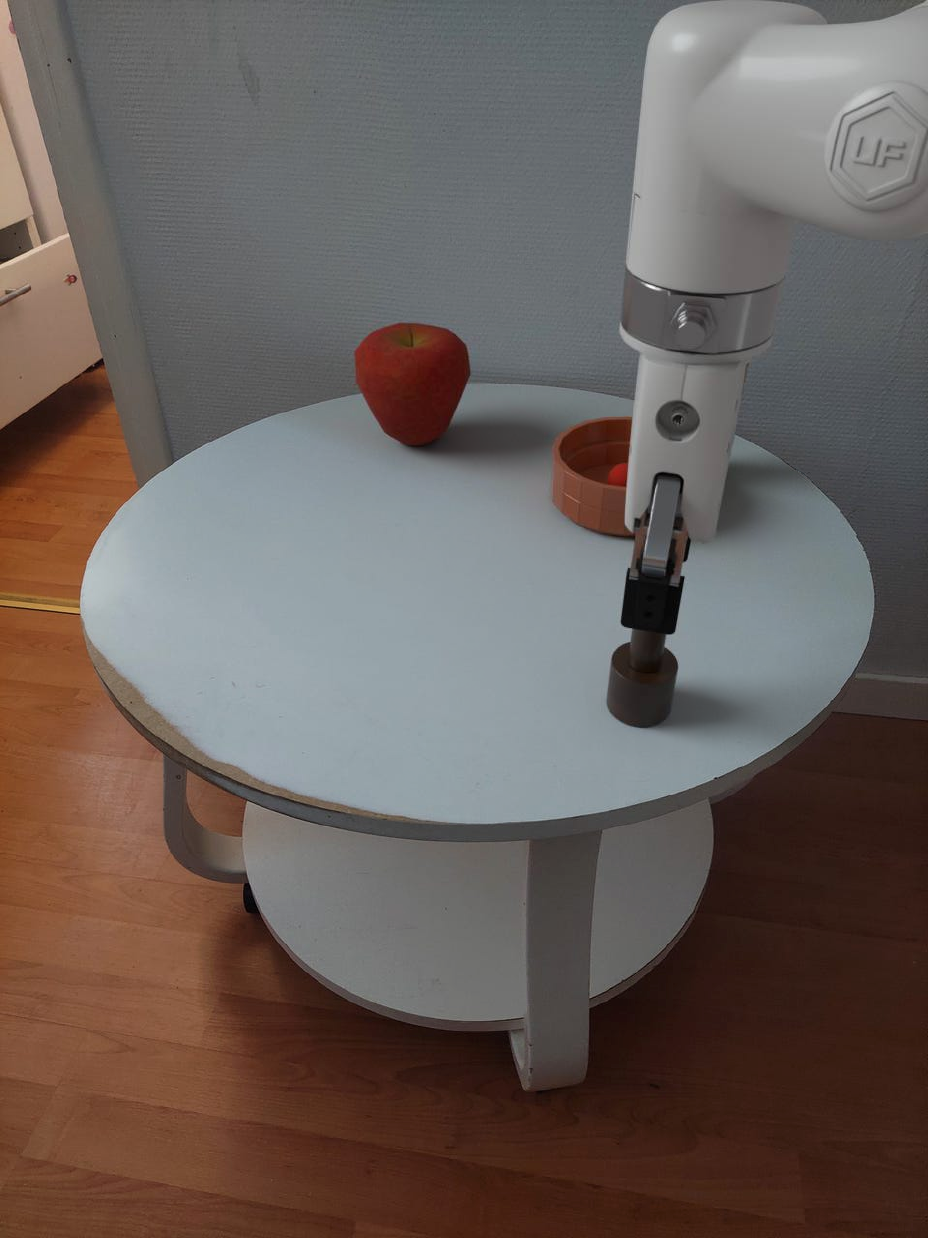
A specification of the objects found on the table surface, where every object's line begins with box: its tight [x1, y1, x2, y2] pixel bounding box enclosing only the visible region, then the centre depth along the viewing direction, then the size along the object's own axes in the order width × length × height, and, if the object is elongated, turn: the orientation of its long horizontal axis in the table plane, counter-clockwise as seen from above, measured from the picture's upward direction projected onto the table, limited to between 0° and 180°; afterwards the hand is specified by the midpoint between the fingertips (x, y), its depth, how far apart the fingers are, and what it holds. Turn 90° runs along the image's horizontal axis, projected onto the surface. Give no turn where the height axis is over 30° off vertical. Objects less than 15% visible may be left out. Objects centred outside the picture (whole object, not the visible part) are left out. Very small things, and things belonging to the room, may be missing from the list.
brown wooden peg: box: [606, 517, 683, 728], centre depth 57 cm, size 4×4×15 cm
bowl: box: [549, 415, 636, 537], centre depth 81 cm, size 13×13×5 cm
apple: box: [353, 322, 472, 447], centre depth 88 cm, size 11×11×12 cm
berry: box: [608, 463, 628, 487], centre depth 81 cm, size 3×3×3 cm
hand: (655, 589), depth 56 cm, fingers open, 6 cm apart
